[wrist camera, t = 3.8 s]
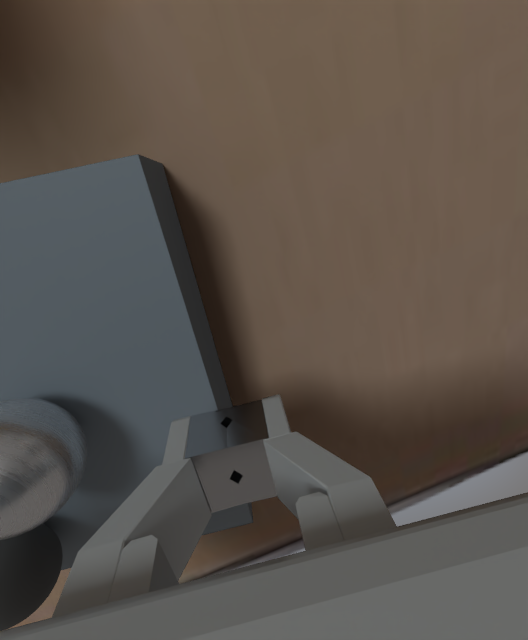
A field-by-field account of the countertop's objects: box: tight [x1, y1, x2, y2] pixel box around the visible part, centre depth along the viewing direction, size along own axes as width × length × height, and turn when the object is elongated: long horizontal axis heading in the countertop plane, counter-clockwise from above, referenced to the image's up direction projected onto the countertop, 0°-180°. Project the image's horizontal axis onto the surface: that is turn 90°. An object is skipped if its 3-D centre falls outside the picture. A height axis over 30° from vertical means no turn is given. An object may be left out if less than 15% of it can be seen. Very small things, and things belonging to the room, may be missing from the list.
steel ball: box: [0, 398, 87, 540], centre depth 9 cm, size 4×4×4 cm
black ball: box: [0, 524, 63, 631], centre depth 11 cm, size 3×3×3 cm
